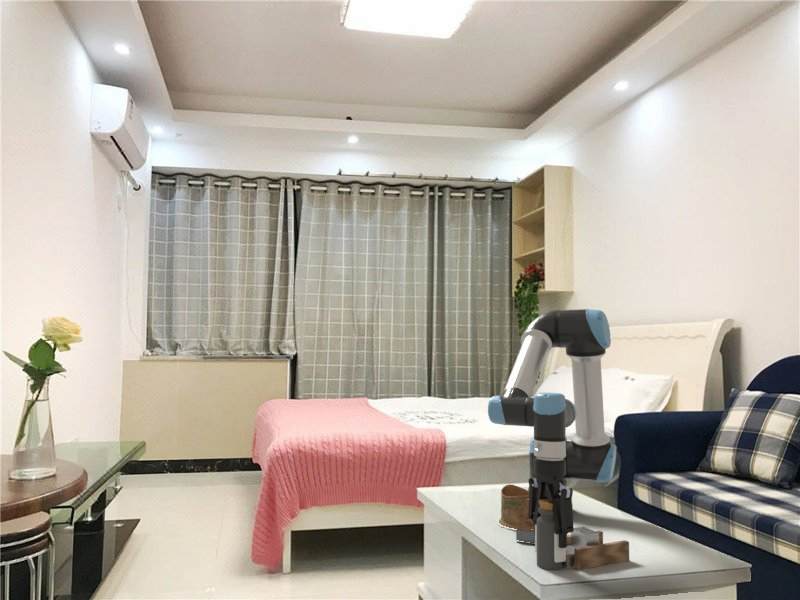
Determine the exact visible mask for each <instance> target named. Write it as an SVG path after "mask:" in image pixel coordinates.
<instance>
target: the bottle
mask: <svg viewBox="0 0 800 600" xmlns="http://www.w3.org/2000/svg"><path fill="white" fill-rule="evenodd" d="M539 504H540V507H539V508H538V512H539V513H540V514H541V516H540V517H538V518H537V553H536V565H537V567H538V568H541V569H544V570H547V571H548V570H550V571H553V570H555V571H556V570H560V569H562V567H563V566H562V562H557V563H556V562H554V533H555V532H557V530H556V525H555V520H554V515H553V510H552V507H553V503H549V499H540V500H539ZM561 528H562V527H561Z"/></svg>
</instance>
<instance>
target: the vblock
mask: <svg viewBox="0 0 800 600" xmlns="http://www.w3.org/2000/svg"><path fill="white" fill-rule="evenodd" d="M515 533H516V534H515V537H516V538H515V540H519V541H524V542H530V543H535V535H534V530H522V529H517V530H516V531H515Z"/></svg>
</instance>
